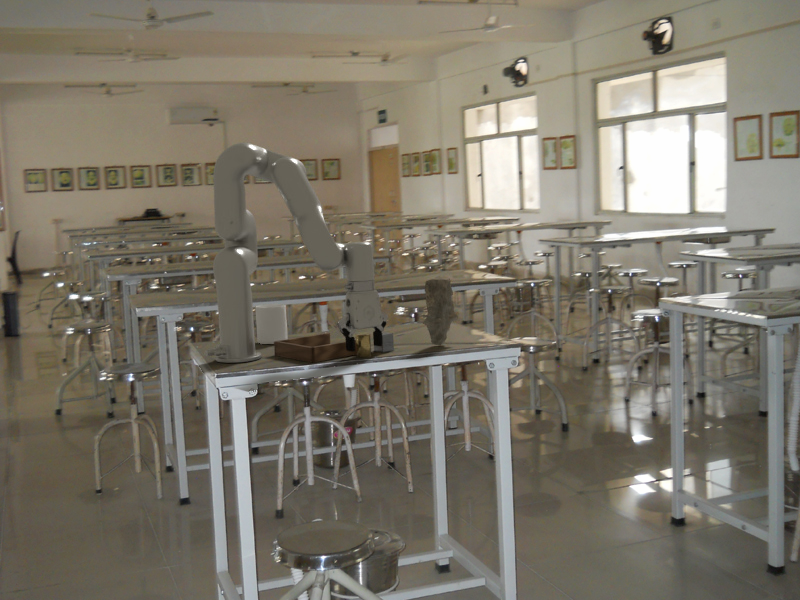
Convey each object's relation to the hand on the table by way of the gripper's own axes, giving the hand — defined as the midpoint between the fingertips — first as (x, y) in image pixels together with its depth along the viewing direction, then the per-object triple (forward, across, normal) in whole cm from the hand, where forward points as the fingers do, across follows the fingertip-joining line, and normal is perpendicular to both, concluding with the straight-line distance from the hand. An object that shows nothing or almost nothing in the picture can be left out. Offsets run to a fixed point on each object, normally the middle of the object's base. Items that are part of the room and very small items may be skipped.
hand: (364, 348), depth 226 cm
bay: (+2, -6, +13) cm, 14 cm away
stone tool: (+3, +25, -5) cm, 25 cm away
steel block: (+2, +9, +2) cm, 9 cm away
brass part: (+2, 0, 0) cm, 2 cm away
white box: (+2, -2, +44) cm, 44 cm away
